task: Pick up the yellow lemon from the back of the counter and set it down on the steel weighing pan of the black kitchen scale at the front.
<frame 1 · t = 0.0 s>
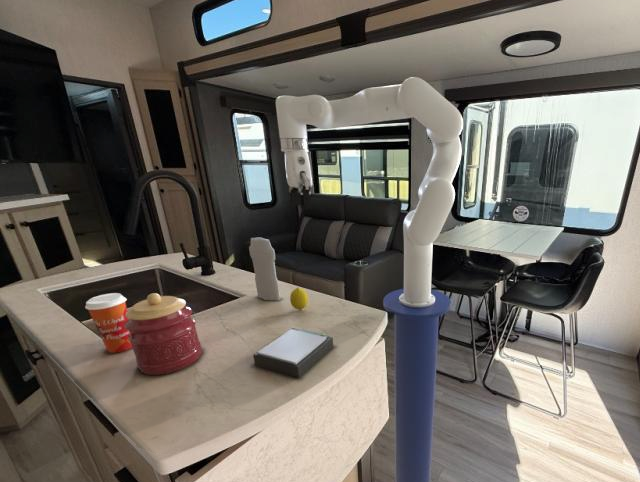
hand: (301, 207, 97), 33 cm above the countertop, tool pointing down, fingers open, 9 cm apart
paper cup: (122, 347, 84), on the countertop
scale: (296, 355, 80), on the countertop
lemon: (300, 310, 105), on the countertop
grey stone slab: (269, 298, 114), on the countertop
kitchen canister: (172, 360, 78), on the countertop
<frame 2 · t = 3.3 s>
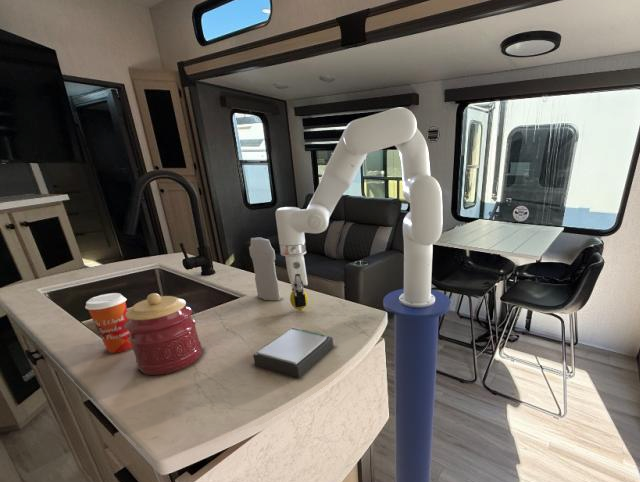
hand: (299, 302, 104), 3 cm above the countertop, tool pointing down, fingers closed on lemon, 5 cm apart
lemon: (300, 310, 105), on the countertop, touching gripper
everything else where it was.
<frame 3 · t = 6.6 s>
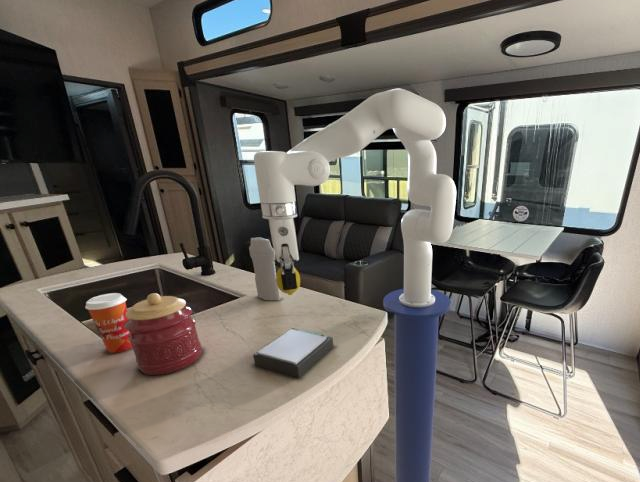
hand: (289, 284, 78), 18 cm above the countertop, tool pointing down, fingers closed on lemon, 5 cm apart
lemon: (290, 295, 79), point 14 cm above the countertop, touching gripper
everything else where it was.
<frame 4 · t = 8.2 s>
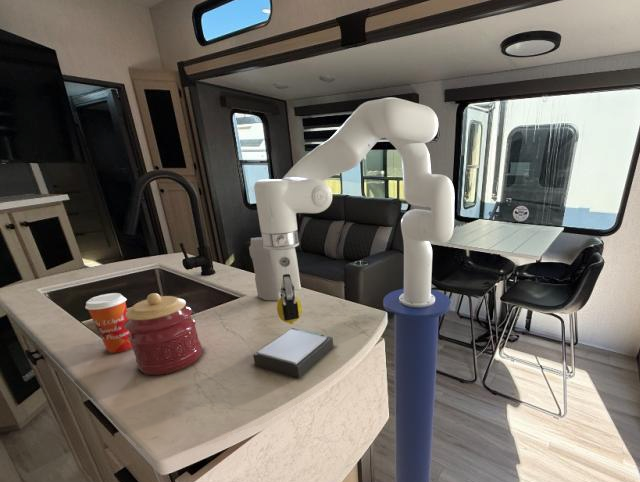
hand: (290, 312, 76), 12 cm above the countertop, tool pointing down, fingers closed on lemon, 5 cm apart
lemon: (291, 324, 77), point 9 cm above the countertop, touching gripper
everything else where it was.
when the fingers open (7 cm above the countertop, at t = 9.9 s): lemon stays where it is, resting on scale.
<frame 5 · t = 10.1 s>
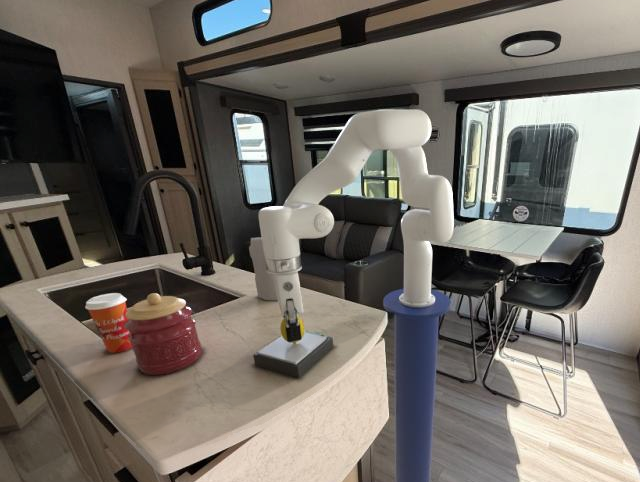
hand: (293, 332, 78), 7 cm above the countertop, tool pointing down, fingers open, 6 cm apart
lemon: (294, 343, 79), point 3 cm above the countertop, touching scale
everything else where it was.
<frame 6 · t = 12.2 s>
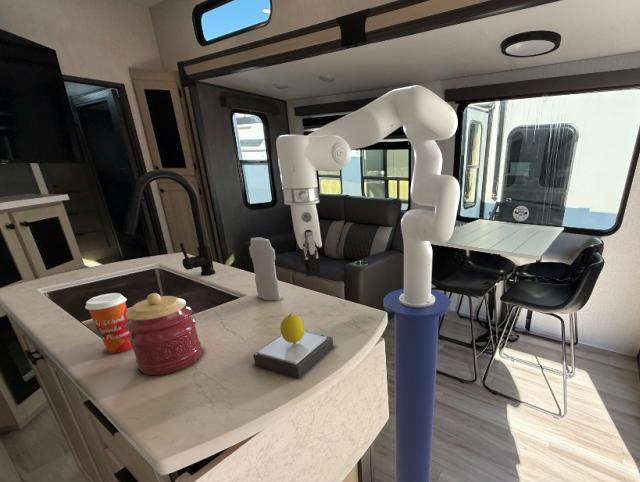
hand: (310, 269, 77), 21 cm above the countertop, tool pointing down, fingers open, 9 cm apart
nothing on the countertop moved.
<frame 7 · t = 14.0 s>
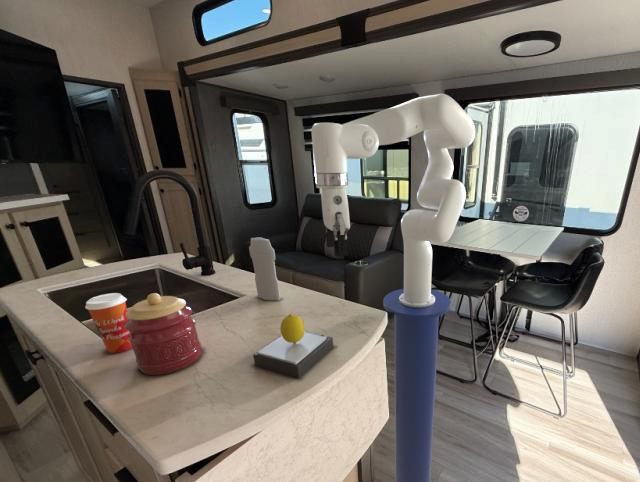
hand: (336, 250, 82), 24 cm above the countertop, tool pointing down, fingers open, 9 cm apart
nothing on the countertop moved.
at the end: lemon inside the target area on the scale (0.2 cm from its centre), point 3.4 cm above the scale's base; the gripper is holding nothing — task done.
